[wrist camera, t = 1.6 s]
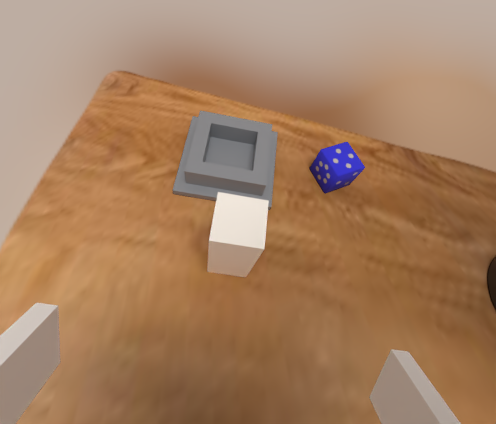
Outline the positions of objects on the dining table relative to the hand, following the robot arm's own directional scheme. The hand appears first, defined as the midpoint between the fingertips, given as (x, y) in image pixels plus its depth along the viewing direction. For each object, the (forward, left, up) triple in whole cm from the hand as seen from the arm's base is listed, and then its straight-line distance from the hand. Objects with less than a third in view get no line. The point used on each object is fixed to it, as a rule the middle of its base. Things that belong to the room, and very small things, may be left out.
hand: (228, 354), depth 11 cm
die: (-25, -17, -23) cm, 38 cm away
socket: (-10, -23, -23) cm, 34 cm away
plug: (-6, -9, -23) cm, 25 cm away
